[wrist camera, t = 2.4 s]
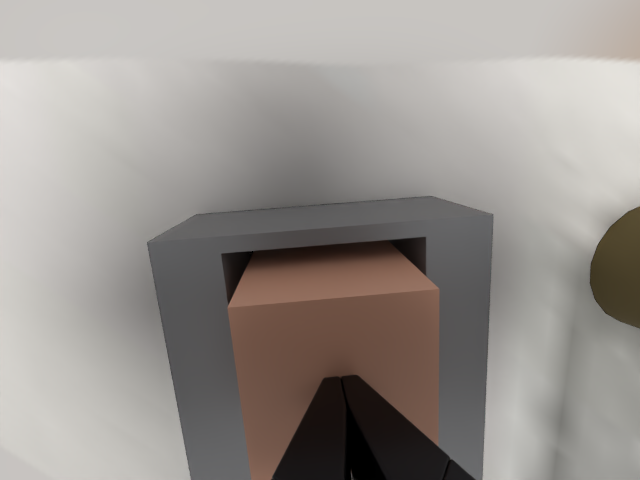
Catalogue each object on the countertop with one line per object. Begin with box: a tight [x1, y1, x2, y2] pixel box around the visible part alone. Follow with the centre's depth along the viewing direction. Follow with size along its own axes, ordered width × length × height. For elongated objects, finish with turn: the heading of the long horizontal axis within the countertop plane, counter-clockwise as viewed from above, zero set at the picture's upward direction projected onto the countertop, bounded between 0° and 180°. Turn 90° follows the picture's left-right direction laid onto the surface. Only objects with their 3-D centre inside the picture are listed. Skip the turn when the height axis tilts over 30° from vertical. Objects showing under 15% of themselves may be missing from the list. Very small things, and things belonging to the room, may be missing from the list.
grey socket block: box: [147, 196, 493, 480], centre depth 15 cm, size 16×10×5 cm, turn 4°
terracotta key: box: [227, 240, 439, 480], centre depth 11 cm, size 5×5×6 cm
